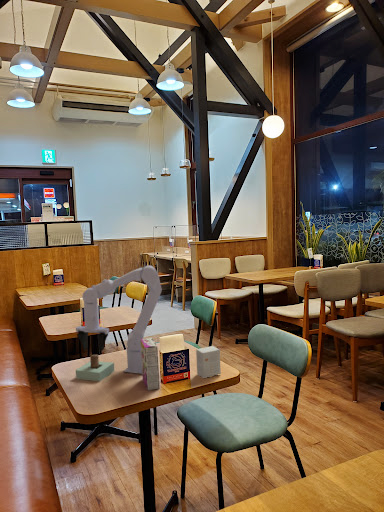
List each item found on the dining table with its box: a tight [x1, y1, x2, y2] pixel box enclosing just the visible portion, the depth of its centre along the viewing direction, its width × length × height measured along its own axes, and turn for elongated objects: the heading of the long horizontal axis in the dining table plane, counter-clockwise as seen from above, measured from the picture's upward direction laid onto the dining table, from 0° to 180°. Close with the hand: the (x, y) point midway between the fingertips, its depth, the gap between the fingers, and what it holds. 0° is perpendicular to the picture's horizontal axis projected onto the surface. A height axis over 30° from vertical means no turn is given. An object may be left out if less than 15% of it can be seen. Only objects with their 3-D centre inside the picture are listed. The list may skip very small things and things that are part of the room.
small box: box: [195, 345, 221, 379], centre depth 150 cm, size 8×6×10 cm
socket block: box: [75, 360, 115, 382], centre depth 155 cm, size 11×11×4 cm
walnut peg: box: [89, 354, 100, 369], centre depth 154 cm, size 3×3×8 cm
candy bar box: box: [140, 337, 160, 391], centre depth 143 cm, size 11×5×16 cm, turn 17°
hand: (93, 349), depth 156 cm, fingers open, 7 cm apart
